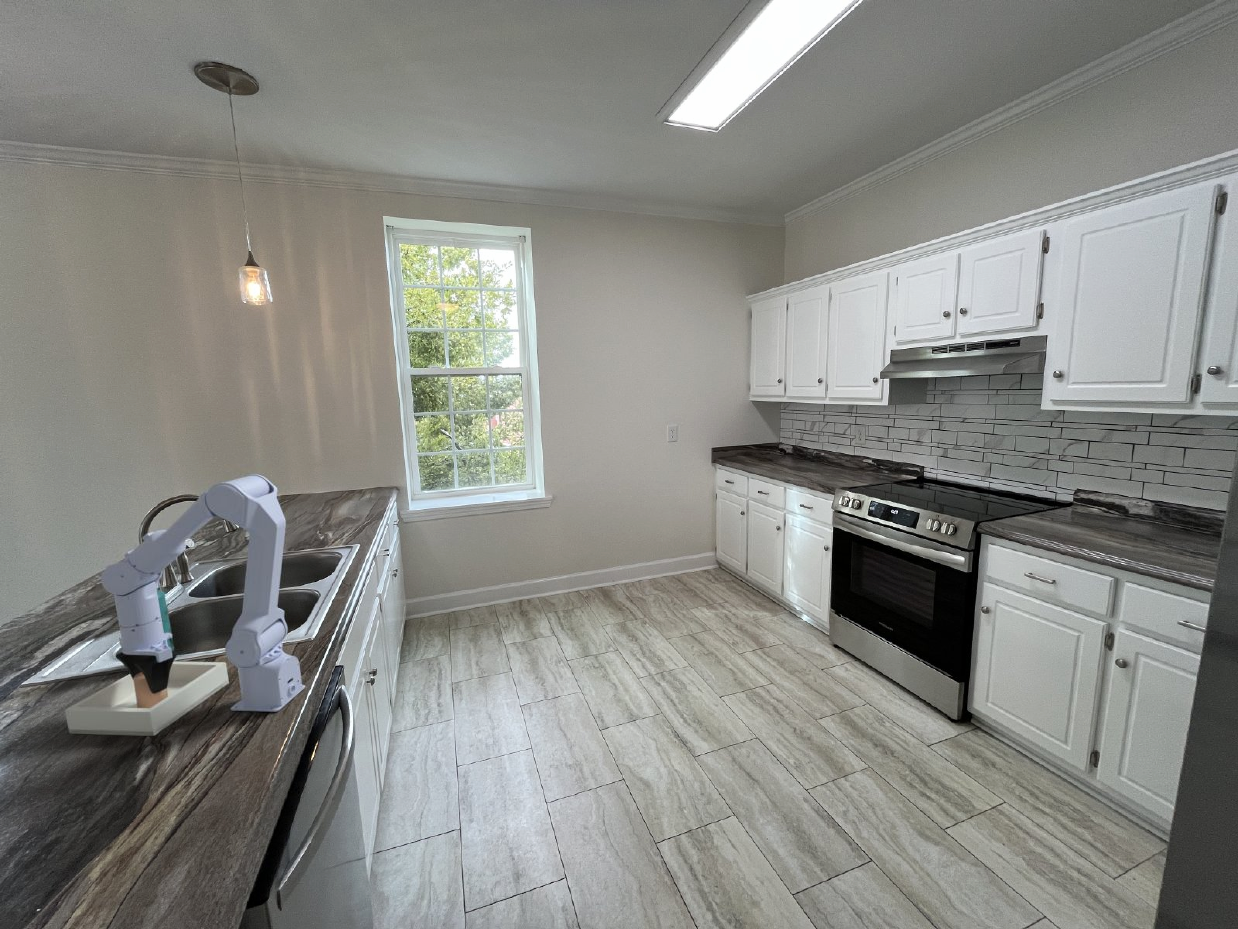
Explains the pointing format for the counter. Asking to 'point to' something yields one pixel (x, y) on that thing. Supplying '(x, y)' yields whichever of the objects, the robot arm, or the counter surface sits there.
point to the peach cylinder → (146, 693)
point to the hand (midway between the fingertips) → (152, 687)
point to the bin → (121, 716)
